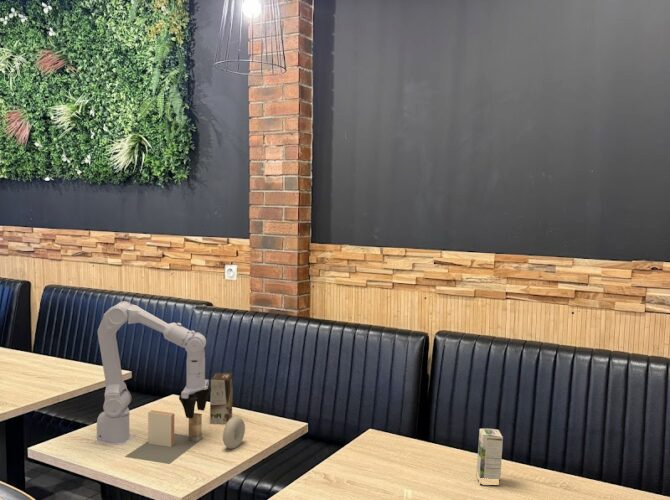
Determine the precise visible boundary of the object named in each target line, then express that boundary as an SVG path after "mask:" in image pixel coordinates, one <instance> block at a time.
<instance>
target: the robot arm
mask: <svg viewBox="0 0 670 500" xmlns="http://www.w3.org/2000/svg"><path fill="white" fill-rule="evenodd" d="M126 323H127V324H128V325H131V324H142V325H144V326H146V327H148V328H151V329H153V330H155V331H157V332H159V333H162V334H163V337H164V340H167V341H169V342H170V343H173V344H175V345H177V346H179V347H181V348H184V349H185V352H186V355H187V356H186V381H185V382H186V383H185V384H186V385H185V387H184V388H183V390H182V391H181V393H180V394H181V395H179V396H178V399H179V401H180V403H181V405H182V408H183V410H184V414H185V417H186V419H189V418H193V416H194V413H195V407H196V408H197V411H205V409H206V405H207V401H208V398H209V395H210V393H211V386H210V380H209V379H206V357H205V356H206V352H205V351H206V350H205V347H206V345H207V338H206V337H205V335H203V334H202V333H201V332H195V330H194V329H193V330H190V329H188V328H186V327H185V326H183V325H182V323H180V322H177V323H176V322H171V323H167V322H166V321H164V320H163V319H160V318H159V317H157V316H156V315H153V314H151V313H150V312H148V311H147V310H144V309H143V308H141V307H140V306H138V305H135V304H132V303H131V302H129V301H126V300H125V301H120V302H117V304H115V305H114V306H111V307H110V308H108V309H107V311H105V313H103V316H102V320H101V322H100V323H99V326H98V329H97V337H98V338H97V339H98V344H99V351H100V355H101V362H102V368H103V375H104V381H105V391H104V403H103V411H102V412H100V413H99V415H98V417H97V419H96V420H97V421H96V440H94V442H95V443H96V442H97V443H103V444H109V445H116V446H122V445H124V444H125V443H127V442H129V441H130V440H132V439H134V438H136V435H130V409H129V407H128V406H129V405H130V404H131V402H132V395H131V393H130V391H129V390H128V388H127V384H126V382H125V381H124V378H123V372H122V366H121V359H120V352H119V348H118V347H119V346H118V340H117V336H116V333H117V332H118V331H119V329H120V328H121V327H122V326H123V325H124V324H126ZM193 394H195V396H194V395H193Z"/></svg>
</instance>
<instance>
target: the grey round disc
mask: <svg viewBox="0 0 670 500" xmlns="http://www.w3.org/2000/svg"><path fill="white" fill-rule="evenodd" d="M245 433H246V424H245V421H244V420H243V418H242V417H240V416H237V415H236V416H232V418H231V419H230V420H228V422H227V423H226V424H224V428H223V433H222V442H223V445H224V446H225V447H226V448H227V449H229V450H234V449H236V448H238V447H239V446H240V445H241V443H242V441H243V439H244V436H245Z"/></svg>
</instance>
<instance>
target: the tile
mask: <svg viewBox="0 0 670 500" xmlns="http://www.w3.org/2000/svg"><path fill="white" fill-rule="evenodd" d="M147 423H148V424H147V442H148V444H155V445H162V446H168V447H171V446H173V445H174V434H175V413H174V412H167V411H160V410H154V409H151V410H150V411H148V414H147Z"/></svg>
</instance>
